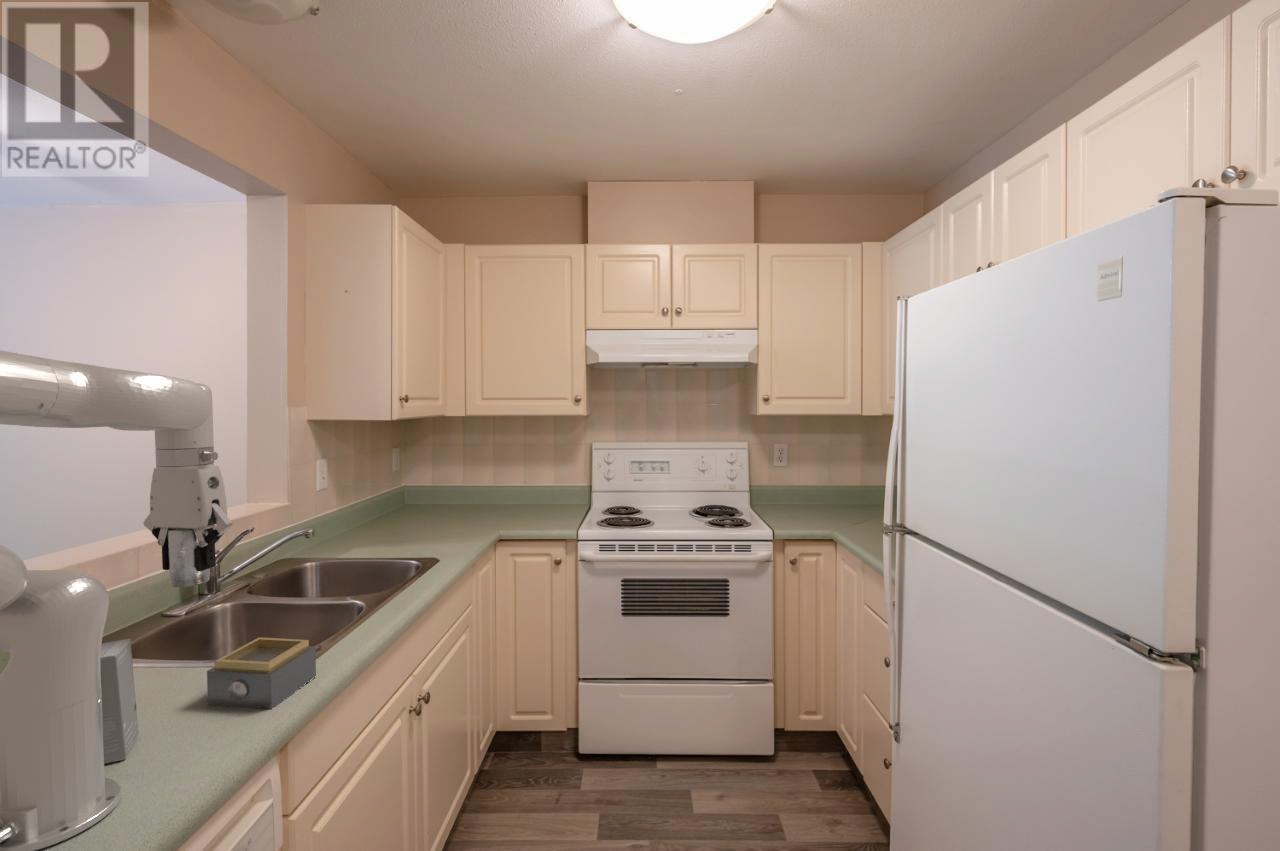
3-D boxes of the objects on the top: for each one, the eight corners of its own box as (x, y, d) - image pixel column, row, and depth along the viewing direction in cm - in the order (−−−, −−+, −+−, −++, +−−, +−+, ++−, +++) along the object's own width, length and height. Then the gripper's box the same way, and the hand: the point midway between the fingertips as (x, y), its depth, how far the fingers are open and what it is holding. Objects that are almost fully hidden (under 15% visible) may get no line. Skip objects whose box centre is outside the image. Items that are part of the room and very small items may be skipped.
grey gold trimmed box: (269, 710, 99) (268, 667, 99) (205, 706, 100) (204, 663, 100) (316, 677, 111) (315, 638, 111) (258, 673, 112) (257, 635, 112)
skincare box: (126, 761, 85) (122, 655, 85) (60, 776, 82) (56, 666, 81) (141, 732, 93) (137, 634, 92) (80, 745, 89) (77, 643, 88)
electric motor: (190, 587, 93) (188, 526, 92) (161, 586, 93) (158, 525, 93) (223, 575, 99) (221, 517, 99) (195, 574, 100) (193, 516, 99)
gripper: (251, 457, 98) (254, 563, 98) (159, 455, 99) (162, 560, 100) (215, 462, 90) (218, 577, 91) (115, 460, 92) (119, 573, 93)
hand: (189, 567), depth 96 cm, fingers closed on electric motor, 5 cm apart
